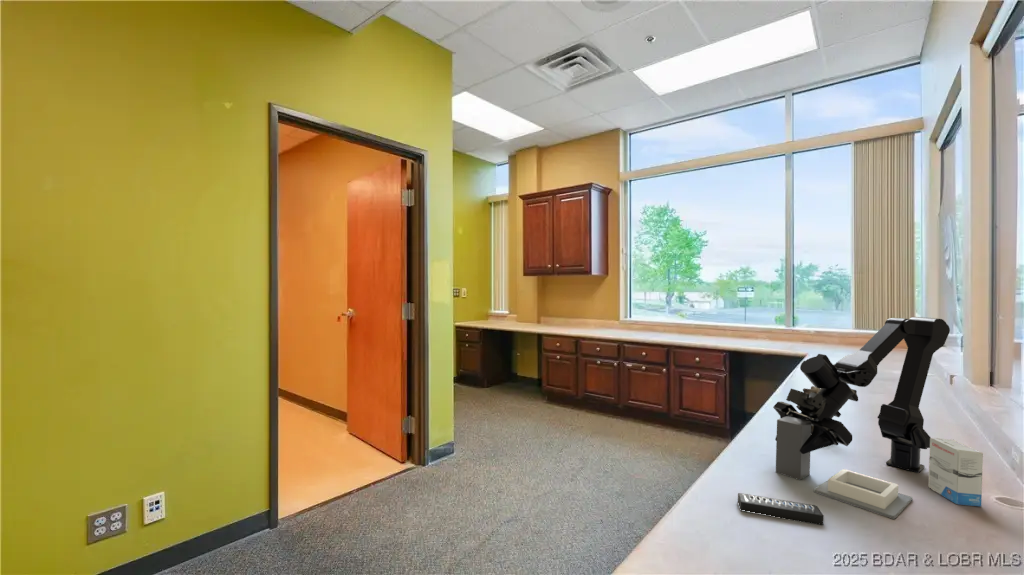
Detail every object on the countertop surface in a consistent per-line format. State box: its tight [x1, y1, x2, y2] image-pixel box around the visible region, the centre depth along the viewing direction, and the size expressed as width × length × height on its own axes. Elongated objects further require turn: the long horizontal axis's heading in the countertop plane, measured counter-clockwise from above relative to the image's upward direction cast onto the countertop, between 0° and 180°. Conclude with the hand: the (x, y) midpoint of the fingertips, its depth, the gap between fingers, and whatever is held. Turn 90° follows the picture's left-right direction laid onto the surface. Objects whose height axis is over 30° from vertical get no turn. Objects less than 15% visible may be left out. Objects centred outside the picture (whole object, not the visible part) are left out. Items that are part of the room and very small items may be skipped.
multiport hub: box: [737, 492, 825, 526], centre depth 90 cm, size 4×14×2 cm, turn 71°
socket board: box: [813, 468, 913, 520], centre depth 98 cm, size 14×14×3 cm
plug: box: [775, 416, 811, 481], centre depth 110 cm, size 6×6×13 cm
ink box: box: [928, 437, 984, 507], centre depth 99 cm, size 8×5×12 cm, turn 168°
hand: (788, 446), depth 109 cm, fingers closed on plug, 7 cm apart
